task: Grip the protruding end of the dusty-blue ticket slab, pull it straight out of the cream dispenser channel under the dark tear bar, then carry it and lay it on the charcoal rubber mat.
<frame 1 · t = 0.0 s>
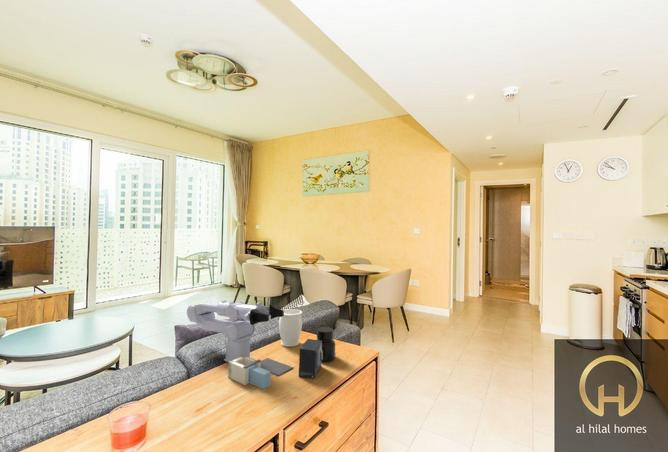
hand: (275, 315, 117), 22 cm above the table, tool horizontal, fingers open, 7 cm apart
ink bottle: (324, 358, 132), on the table
ticket slab: (256, 383, 110), on the table
dispenser: (244, 377, 114), on the table
mat: (272, 367, 123), on the table
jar: (290, 344, 147), on the table
small box: (310, 372, 120), on the table
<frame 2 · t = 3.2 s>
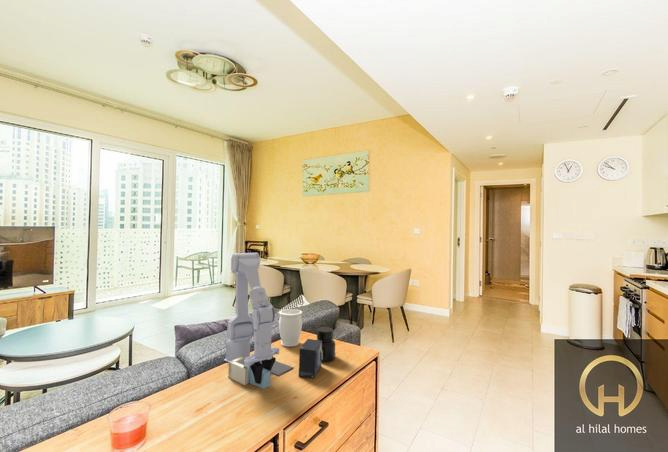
hand: (261, 380, 109), 1 cm above the table, tool pointing down, fingers closed on ticket slab, 3 cm apart
ticket slab: (256, 382, 110), on the table, touching gripper
everything else where it was.
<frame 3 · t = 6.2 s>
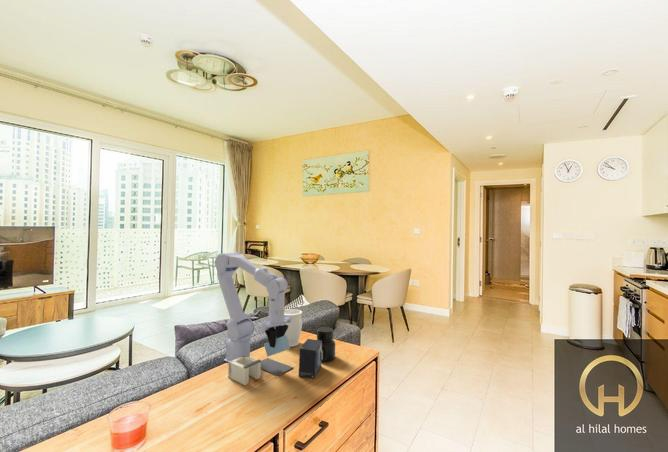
hand: (275, 345, 121), 9 cm above the table, tool pointing down, fingers closed on ticket slab, 3 cm apart
ticket slab: (278, 352, 120), point 7 cm above the table, tilted 27°, touching gripper
everything else where it was.
when the fingers open (2 cm above the table, at t = 7.9 s): ticket slab stays where it is, resting on mat.
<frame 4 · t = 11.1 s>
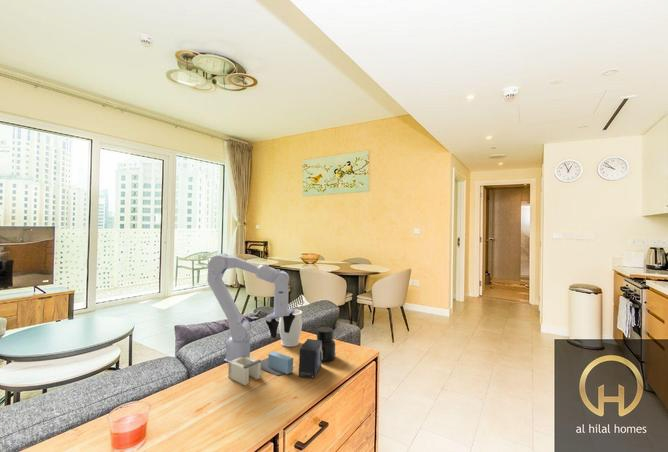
hand: (280, 334, 129), 10 cm above the table, tool pointing down, fingers open, 7 cm apart
ticket slab: (280, 368, 121), resting on mat
everything else where it was.
at the end: ticket slab inside the target area on the mat (4.1 cm from its centre), point 0.4 cm above the mat's base; ticket slab tilted 0°; the gripper is holding nothing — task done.
